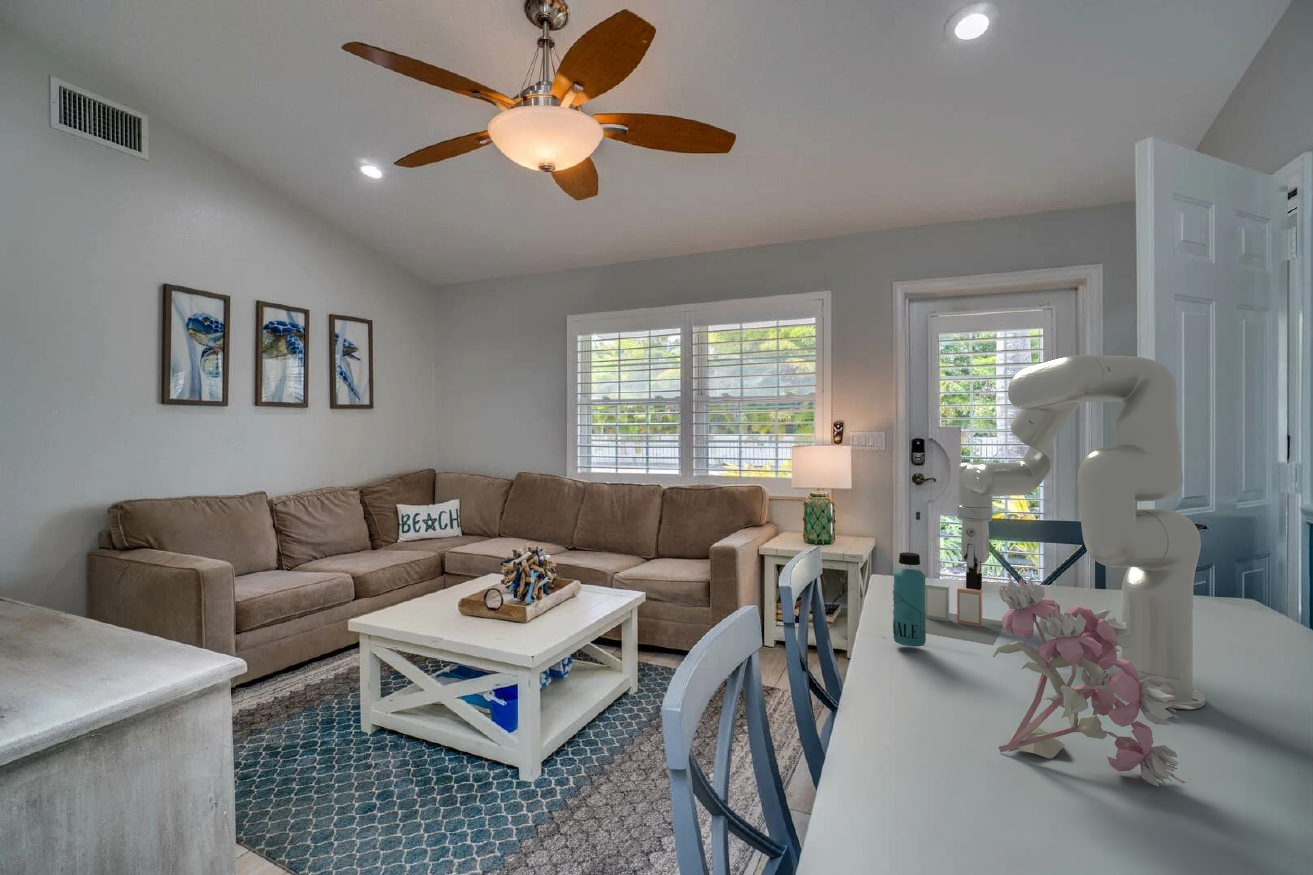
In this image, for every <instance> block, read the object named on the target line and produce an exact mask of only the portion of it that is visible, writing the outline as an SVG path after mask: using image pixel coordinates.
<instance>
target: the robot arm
mask: <svg viewBox="0 0 1313 875" xmlns="http://www.w3.org/2000/svg"><path fill="white" fill-rule="evenodd" d="M1007 397H1008V400H1009V402H1010V404H1011V405H1012V406H1014V407H1015V408H1017V409H1019V410H1018V412H1017V413H1016V415H1015V417H1014V418H1013V420H1012V421H1011V423H1010V431H1011V433H1012V434H1013V436H1014V437H1015V438H1016V439H1017V440H1018V441H1020V443H1022V444H1024V445H1026V446H1028V450H1027V451H1026V453H1025V454H1024V455H1023V457H1022V458H1021V460H1019V462H997V463H996V462H995V463H988V462H983V461H982V462H978V461H965V462H961V463H959V464H958V468H957V502H956V503H957V504H956V505H957V506H956V508H957V512H956V514H957V515H956V516H957V519H958V520H961V542H960V543H961V554H960V555H961V560H962V562H966V564H965V565H966V572H965V588H967V589H974V590H982V588H983V573H982V571H983V570H982V569H983V568H982V566H983V565H982V564H984V563H985V562H987V561H988V560H989V559H990V556H991V555H990V552H991V551H990V528H989V527H990V526H989V522H992V521H993V497H1005V496H1009V497H1010V496H1011V497H1012V496H1015V497H1016V496H1026V495H1029V494H1031V493H1032V492H1034V491H1035V490H1037V489H1038V488H1039V486H1040V485H1041V484H1042V483H1043V482H1044V480H1045V479H1046V478H1047V477H1048V476H1049V474H1050V472H1051V470H1052V468H1053V465H1054V460H1055V459H1054V457H1055V452H1054V447H1053V446H1054V445H1053V441H1054V440H1055V438H1056V437H1057V435H1058V434H1059V433H1060V431H1061V430H1062V429H1063V427H1064V426H1065V424H1066V423H1067V422H1068V420H1070V418H1071V417H1072V415H1073V414H1074V413H1075V411H1076V410H1077V408H1078V407H1079V406H1080V404H1082V403H1084V402H1085V403H1086V402H1087V403H1092V402H1094V403H1095V402H1096V403H1102V402H1103V403H1104V402H1107V403H1109V402H1112V403H1116V402H1117V403H1123V404H1122V406H1121V407H1120V410H1119V411H1118V413H1117V417H1116V419H1115V435H1116V436H1115V437H1116V446H1114V445H1113V446H1103V447H1099V448H1096V449H1094V450H1092V451H1091V452H1090V451H1089V453H1088V454H1087V455H1086V456H1085V457H1084V458H1083V460H1082V462H1081V463H1080V466H1079V469H1078V473H1077V489H1078V490H1077V492H1078V504H1079V512H1080V515H1079V516H1080V525H1081V533H1082V534H1081V535H1082V539H1083V544H1084V546H1085V548H1086V551H1087V552H1088V554H1089V555H1090V557H1092V559H1093V560H1094V561H1096V562H1097V563H1099V564H1100V565H1102V566H1105V567H1109V568H1120V569H1121V568H1126V571H1125V574H1124V576H1123V578H1122V579H1123V580H1122V584H1121V600H1120V601H1121V608H1120V610H1121V616H1120V617H1121V622H1120V623H1123V622H1127V623H1128V624H1129V628H1128V631H1127V633H1128V634H1127V635H1130V636H1129V637H1127V636H1125V638H1130V639H1132V640H1133V641H1132V643H1131V645H1130V648H1125V649H1124V648H1122V647H1121V646H1120V648H1121V650H1120V653H1121V656H1120V657H1121V658H1120V659H1123V660H1128V661H1130V662H1131V663H1132V664H1133V666H1134V667H1135V669H1136V670H1137V673H1138V676H1139V680H1140V683H1142V682H1143V681H1144V680H1145V679H1146V678H1148V677H1149V676H1160V677H1163V678H1166V679H1169V680H1172V682H1170V683H1167V684H1166V685H1167V686H1168V687H1170V688H1171V691H1172V692H1174V691H1177V692H1176V695H1172V694H1171V695H1172V696H1174V697H1173V698H1171V699H1175V700H1177V701H1170V700H1168V701H1169V702H1171V703H1173V704H1179V705H1186V706H1191V707H1193V708H1196V709H1200V708H1202V707H1204V706H1205V705H1206V696H1205V695H1204V694H1203V693H1202V692H1201V691H1200V690H1199V689H1196V688H1195V687H1194V686H1193V685H1194V683H1193V681H1194V680H1193V679H1194V678H1193V677H1194V675H1193V674H1194V673H1193V672H1194V671H1193V669H1194V667H1193V666H1194V664H1193V661H1194V658H1193V657H1194V654H1193V653H1194V649H1193V648H1194V646H1193V644H1194V634H1193V633H1194V632H1193V628H1194V627H1193V626H1194V624H1193V622H1194V620H1193V618H1194V617H1193V616H1194V614H1193V612H1194V610H1193V609H1194V584H1195V576H1196V569H1197V566H1198V561H1199V557H1200V553H1201V548H1202V547H1201V545H1202V539H1201V534H1200V531H1199V529H1198V528H1197V526H1196V524H1195V523H1194V522H1193V521H1192V520H1191V519H1190V517H1189V518H1188V517H1187V516H1186V515H1184V514H1182V513H1180V512H1177V511H1175V510H1170V509H1162V508H1161V509H1160V508H1159V509H1158V508H1147V509H1144V508H1141V509H1136V502H1137V503H1138V502H1156V501H1157V502H1158V501H1165V500H1169V499H1171V498H1173V497H1175V496H1176V495H1177V494H1179V492H1180V491H1181V489H1182V488H1183V480H1184V479H1183V478H1184V477H1183V468H1182V467H1183V466H1182V465H1183V464H1182V457H1181V456H1182V455H1181V446H1180V436H1179V435H1180V434H1179V428H1178V420H1177V403H1178V389H1177V382H1176V380H1175V378H1174V375H1173V373H1172V372H1171V371H1170V370H1169V368H1167V367H1166V365H1164V364H1162V363H1161V362H1158V361H1157V360H1153V359H1151V358H1147V357H1141V356H1134V355H1133V356H1131V355H1116V354H1115V355H1113V354H1112V355H1109V354H1108V355H1101V354H1097V355H1096V354H1075V355H1073V354H1072V355H1067V356H1064V357H1060V358H1057V359H1052V360H1049V361H1046V362H1042V363H1039V364H1035V365H1032V366H1028V367H1025V368H1022V369H1021V370H1019V371H1018V372H1016V373H1015V375H1013V377H1012V379H1011V380H1010V382H1009V384H1008V387H1007ZM1120 670H1121V671H1123V670H1122V669H1120ZM1168 708H1171V709H1175V710H1179V709H1180V710H1185V709H1184V708H1178V707H1173V706H1170V707H1168ZM1168 708H1167V709H1168Z"/></svg>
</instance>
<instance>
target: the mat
mask: <svg viewBox="0 0 1313 875" xmlns="http://www.w3.org/2000/svg"><path fill="white" fill-rule="evenodd" d="M1003 629H1004V628H1003V623H1002V620H997V619H990V618H985V617H982V626H981V627H979V626H972V625H966V624H960V623H957V613H952V612H949V621H941V620H935V619H929V618H925V631H926V635H927V634H928V635H931V636H932V635H933V636H937V637H944V638H950V639H955V640H961V641H968V642H974V643H978V644H984V645H990V646H994V644H995V643H996V640H997V639H998V637H999V635H1000V633H1001V632H1002V630H1003Z"/></svg>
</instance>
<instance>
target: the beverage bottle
mask: <svg viewBox="0 0 1313 875" xmlns="http://www.w3.org/2000/svg"><path fill="white" fill-rule="evenodd" d="M920 556H921V555H920V554H918V553H916V552H908V551H907V552H899V558H898V563H899V564H901V565H905V566H918V565H921V558H920ZM926 578H927V576H926V575H925V573H924V572H923V571H921V570H920V569H918V568H914V567H900V568H897V569H896V571H894V572H893V591H892V596H893V597H892V600H893V601H892V602H893V604H892V607H893V611H892V612H893V613H892V614H893V615H892V616H893V619H892V621H893V622H892V625H893V626H892V633H893V636H892V638H893V640H894V642H895V643H896V644H899V645H902V646H905V647H911V648H912V647H913V648H914V647H915V648H916V647H917V648H918V647H923V646H926V642H927V641H926V640H927V639H926V638H927V637H926V635H927V634H926V631H925V584H926Z"/></svg>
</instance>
